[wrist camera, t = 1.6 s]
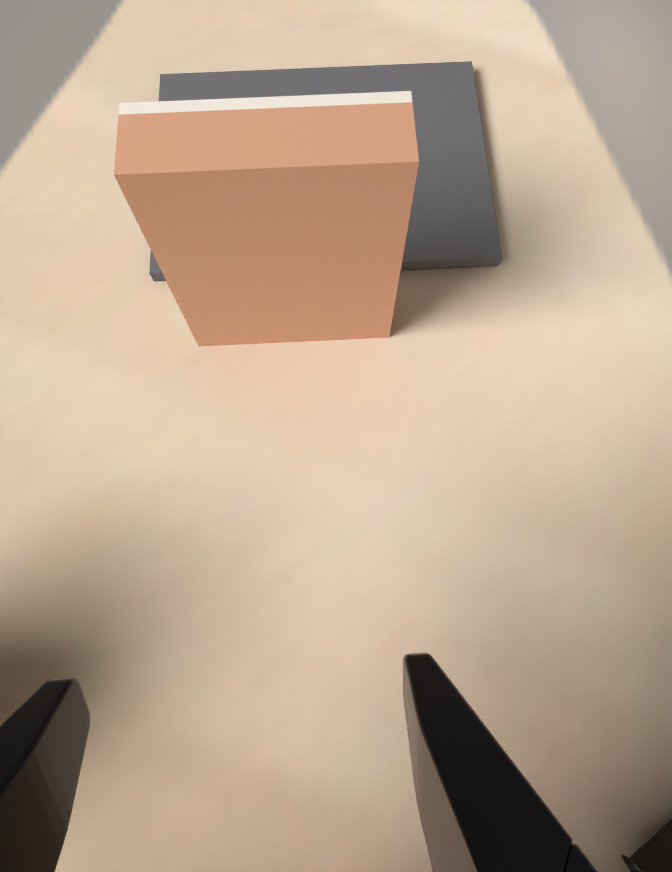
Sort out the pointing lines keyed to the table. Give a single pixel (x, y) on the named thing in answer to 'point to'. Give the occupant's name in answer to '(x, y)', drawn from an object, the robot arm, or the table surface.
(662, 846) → the tape measure
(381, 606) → the table surface
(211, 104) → the tile
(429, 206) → the mat
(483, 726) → the robot arm
